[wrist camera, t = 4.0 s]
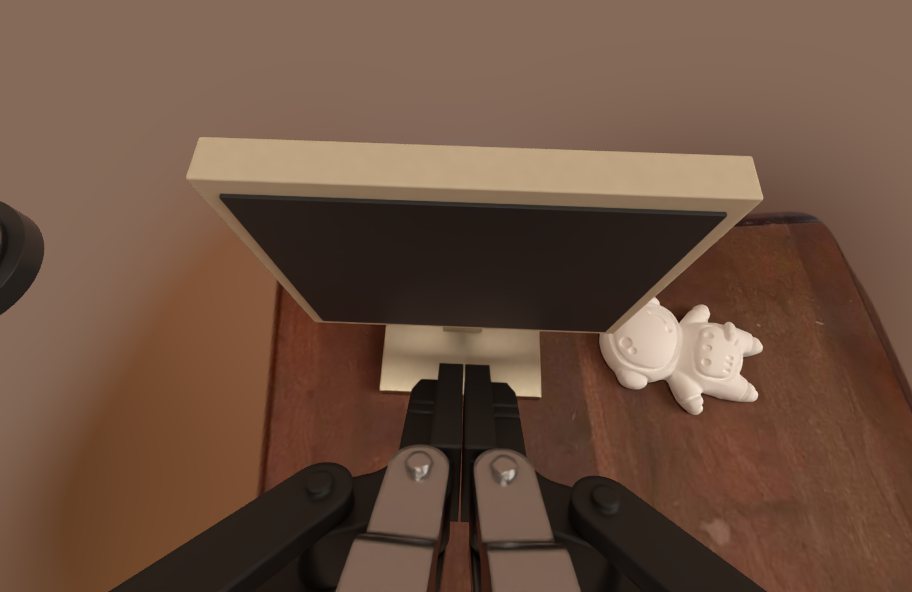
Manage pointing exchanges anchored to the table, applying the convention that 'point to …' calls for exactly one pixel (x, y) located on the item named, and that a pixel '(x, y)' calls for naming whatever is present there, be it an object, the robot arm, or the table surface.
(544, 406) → the table surface
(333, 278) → the monitor screen
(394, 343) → the monitor stand
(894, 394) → the table surface
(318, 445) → the table surface
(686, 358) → the astronaut figurine
